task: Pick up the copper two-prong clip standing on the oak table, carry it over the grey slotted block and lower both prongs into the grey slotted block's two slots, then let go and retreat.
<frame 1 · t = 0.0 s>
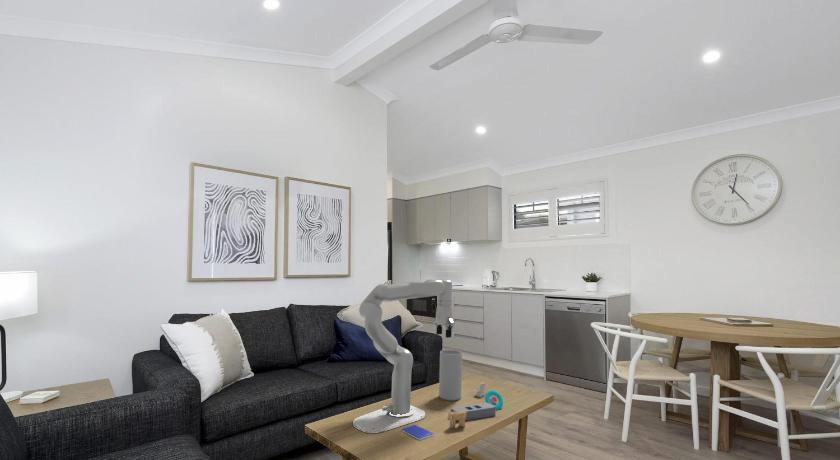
hand: (443, 335, 223), 37 cm above the table, tool pointing down, fingers open, 9 cm apart
cylinder vase: (450, 397, 236), on the table
hard drive: (417, 434, 186), on the table
architectural model: (480, 396, 240), on the table
ornament: (493, 407, 221), on the table
grey slotted block: (473, 415, 208), on the table
clip: (457, 427, 194), on the table
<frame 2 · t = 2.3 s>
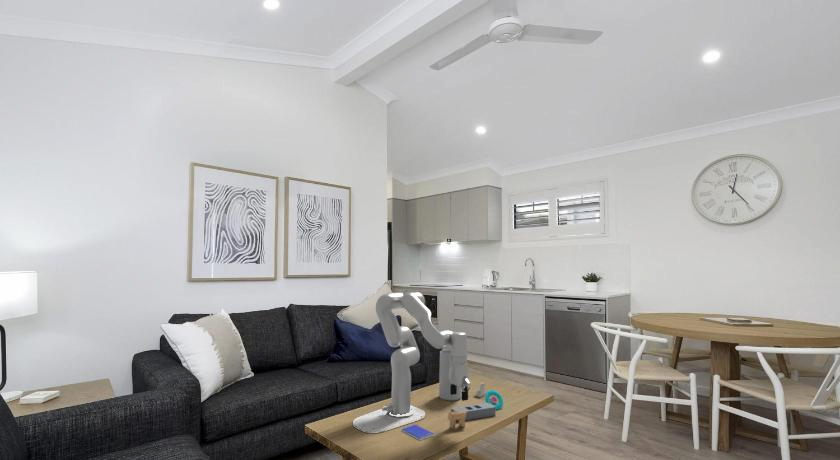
hand: (459, 397, 194), 14 cm above the table, tool pointing down, fingers open, 9 cm apart
nothing on the table moved.
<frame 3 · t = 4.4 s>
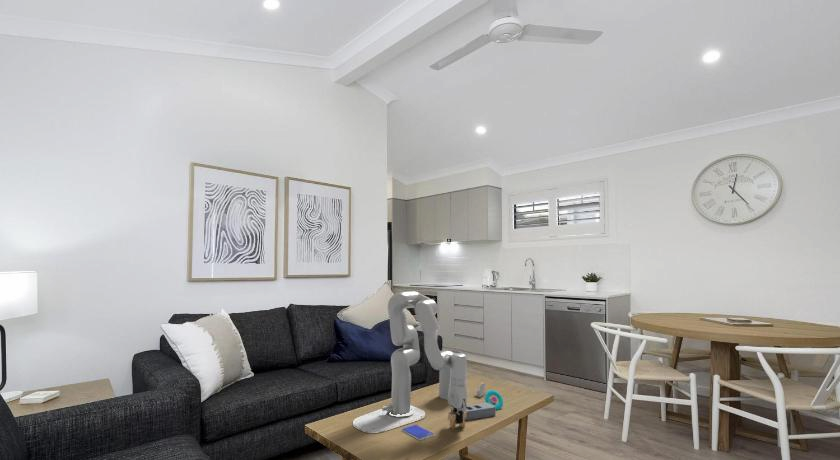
hand: (457, 421, 194), 3 cm above the table, tool pointing down, fingers closed on clip, 3 cm apart
clip: (457, 427, 194), on the table, touching gripper
everything else where it was.
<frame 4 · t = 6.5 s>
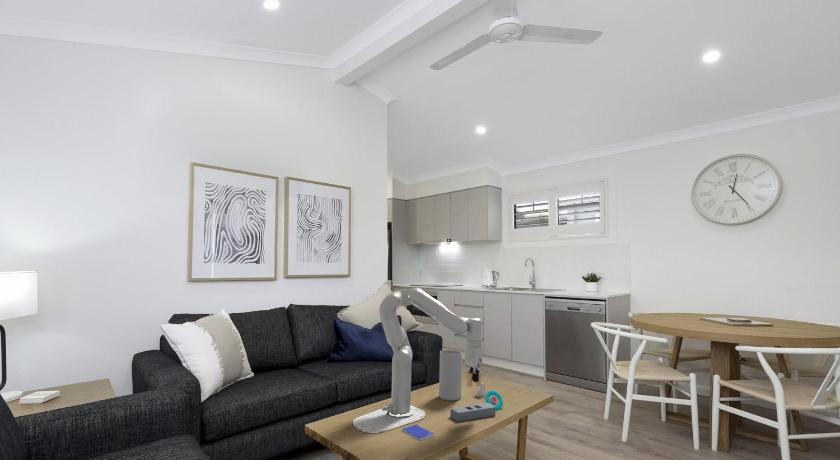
hand: (473, 380, 209), 17 cm above the table, tool pointing down, fingers closed on clip, 3 cm apart
clip: (473, 385, 209), point 15 cm above the table, touching gripper
everything else where it was.
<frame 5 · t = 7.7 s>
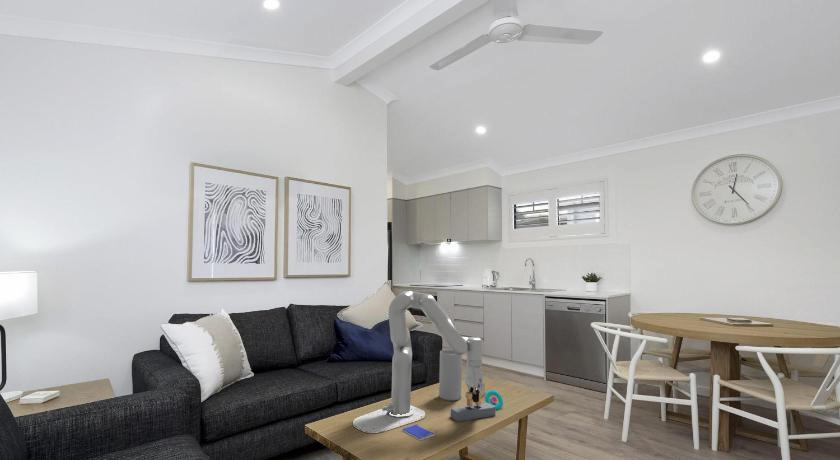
hand: (473, 400, 209), 8 cm above the table, tool pointing down, fingers closed on clip, 3 cm apart
clip: (473, 405, 209), point 5 cm above the table, touching gripper
everything else where it was.
when the fingers open (5 cm above the table, at t = 8.8 s): clip drops 2 cm, resting on grey slotted block.
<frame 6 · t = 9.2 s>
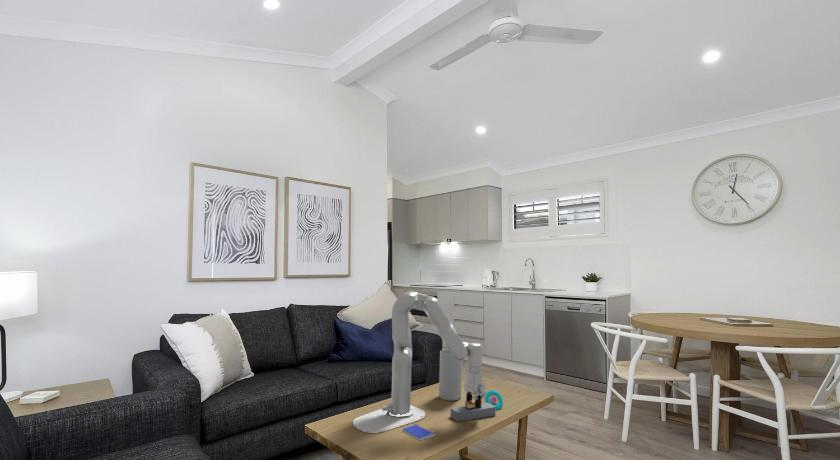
hand: (473, 404, 209), 5 cm above the table, tool pointing down, fingers open, 7 cm apart
clip: (473, 414, 208), resting on grey slotted block
everything else where it was.
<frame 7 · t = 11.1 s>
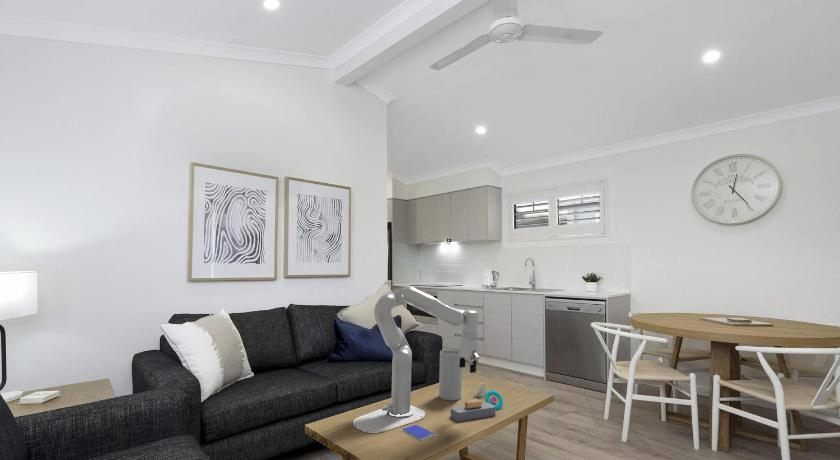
hand: (467, 369, 211), 22 cm above the table, tool pointing down, fingers open, 9 cm apart
nothing on the table moved.
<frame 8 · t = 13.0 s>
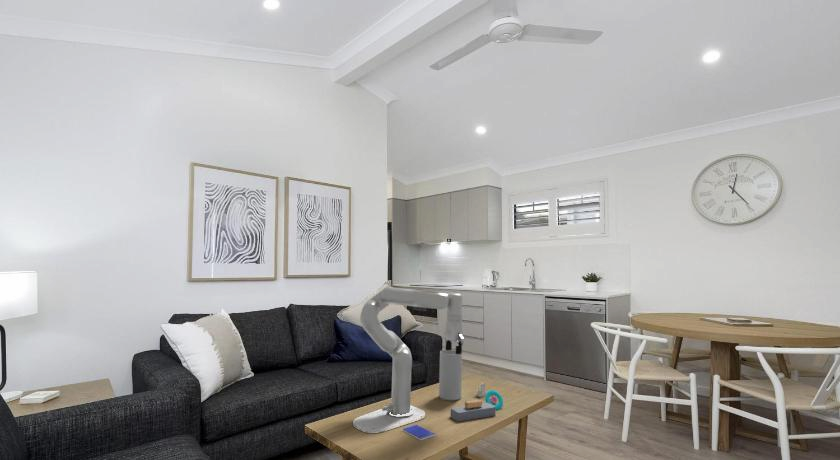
hand: (453, 352, 213), 30 cm above the table, tool pointing down, fingers open, 9 cm apart
nothing on the table moved.
at the end: clip 0.1 cm off-centre on the grey slotted block, point 0.5 cm above the grey slotted block's base; clip tilted 0°; the gripper is holding nothing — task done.
